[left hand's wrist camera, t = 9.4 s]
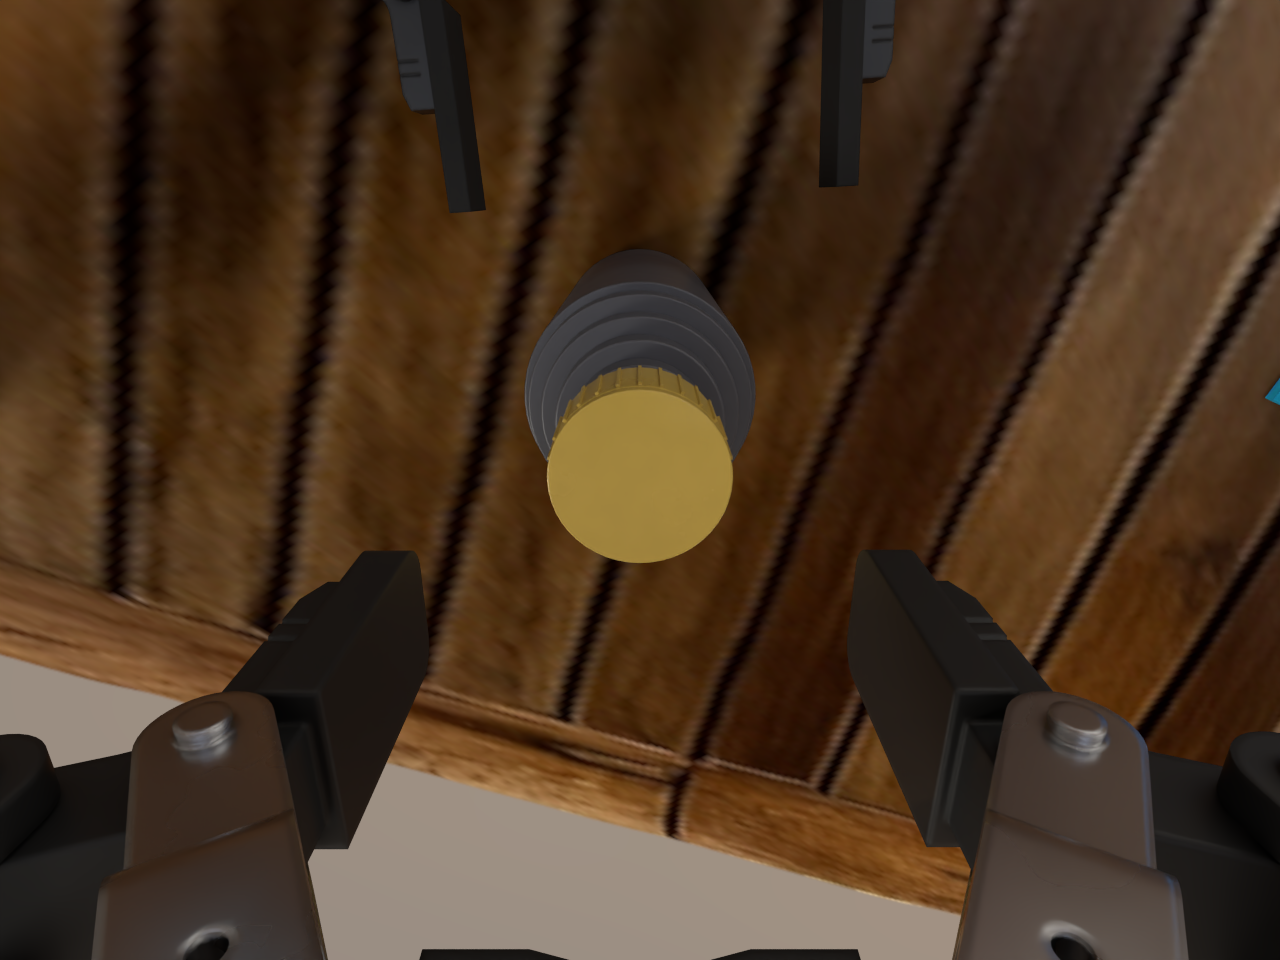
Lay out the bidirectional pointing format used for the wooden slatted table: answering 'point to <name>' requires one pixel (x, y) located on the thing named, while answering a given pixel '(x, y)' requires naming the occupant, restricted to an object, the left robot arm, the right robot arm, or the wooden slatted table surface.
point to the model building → (1274, 393)
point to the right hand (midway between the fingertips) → (652, 200)
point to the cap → (639, 466)
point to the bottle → (639, 341)
